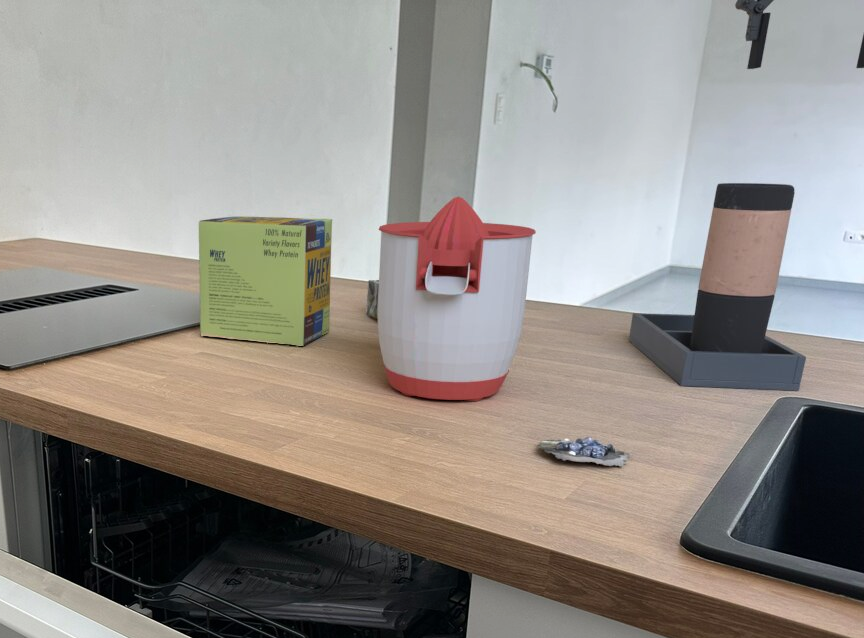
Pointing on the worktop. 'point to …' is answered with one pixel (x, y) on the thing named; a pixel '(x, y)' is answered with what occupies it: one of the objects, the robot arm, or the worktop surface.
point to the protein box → (265, 278)
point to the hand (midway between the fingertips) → (808, 68)
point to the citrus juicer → (451, 303)
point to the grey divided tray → (713, 357)
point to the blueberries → (585, 451)
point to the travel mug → (741, 266)
